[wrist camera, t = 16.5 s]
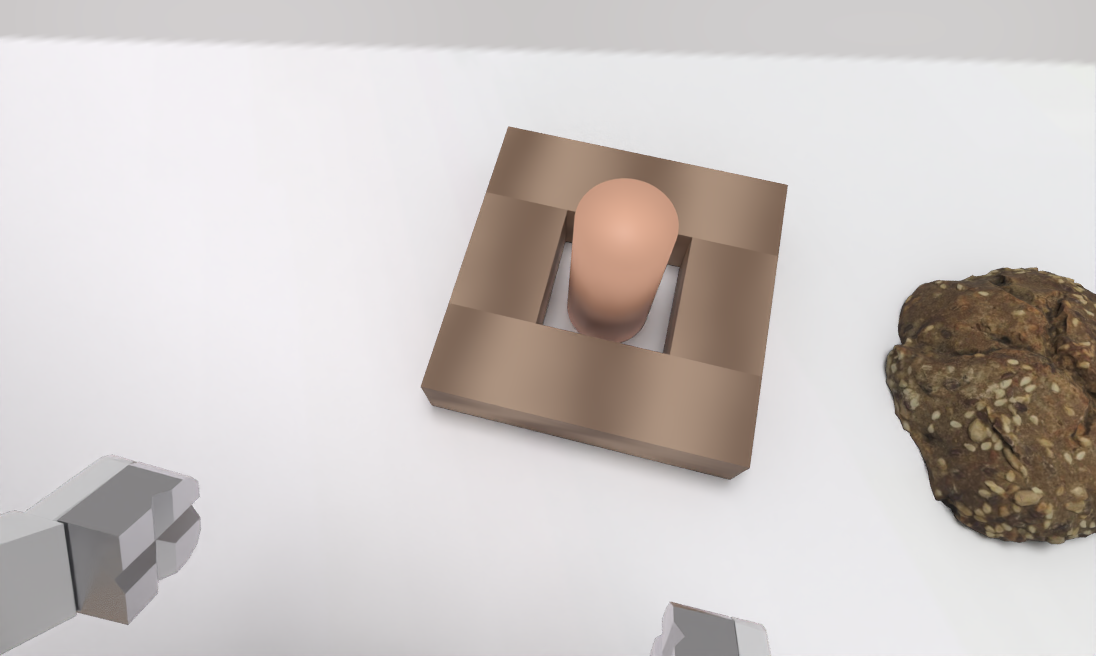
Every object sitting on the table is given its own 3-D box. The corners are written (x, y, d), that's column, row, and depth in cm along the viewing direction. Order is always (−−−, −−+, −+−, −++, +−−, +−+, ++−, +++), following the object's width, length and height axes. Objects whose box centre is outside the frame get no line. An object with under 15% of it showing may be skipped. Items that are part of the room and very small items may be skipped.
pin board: (432, 405, 30) (420, 386, 28) (511, 162, 36) (508, 126, 33) (729, 479, 29) (749, 467, 27) (767, 217, 34) (787, 185, 32)
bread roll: (1207, 483, 30) (1329, 463, 25) (972, 576, 28) (1057, 573, 24) (1042, 248, 34) (1120, 194, 30) (832, 317, 33) (880, 272, 28)
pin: (559, 333, 32) (563, 255, 24) (577, 262, 33) (587, 169, 26) (639, 352, 32) (668, 279, 24) (654, 280, 33) (686, 190, 26)
